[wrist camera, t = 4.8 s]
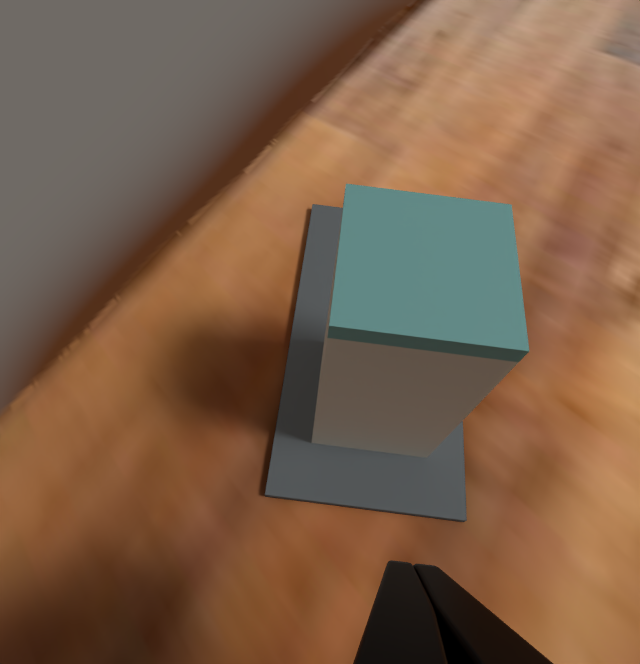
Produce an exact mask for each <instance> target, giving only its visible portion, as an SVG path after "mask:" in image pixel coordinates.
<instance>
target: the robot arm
mask: <svg viewBox="0 0 640 664" xmlns="http://www.w3.org/2000/svg"><path fill="white" fill-rule="evenodd" d="M353 664H553V663H552V662H551V661H550V660H548V659H547V658H546V657H545V656H544V655H542V654H541V653H540V652H539V651H538V650H536V649H535V648H534V647H533V646H532V645H530V644H529V643H528V642H527V641H526V640H524V639H523V638H522V637H521V636H520V635H518V634H517V633H516V632H515V631H514V630H513V629H511V628H510V627H509V626H508V625H507V624H505V623H504V622H503V621H502V620H501V619H499V618H498V617H497V616H496V615H495V614H493V613H492V612H491V611H490V610H489V609H487V608H486V607H485V606H484V605H483V604H481V603H480V602H479V601H478V600H477V599H475V598H474V597H473V596H472V595H471V594H469V593H468V592H467V591H466V590H465V589H463V588H462V587H461V586H460V585H459V584H457V583H456V582H455V581H454V580H453V579H451V578H450V577H449V576H448V575H447V574H446V573H444V572H443V571H442V570H441V569H440V568H438V567H436V566H432V565H424V564H415V565H412V564H411V563H408V562H400V561H389V562H388V563H387V566H386V569H385V572H384V575H383V578H382V581H381V584H380V586H379V589H378V592H377V595H376V598H375V601H374V604H373V607H372V610H371V613H370V616H369V619H368V622H367V625H366V628H365V630H364V633H363V636H362V639H361V642H360V645H359V648H358V651H357V654H356V657H355V660H354V663H353Z"/></svg>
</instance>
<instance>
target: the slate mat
mask: <svg viewBox="0 0 640 664" xmlns="http://www.w3.org/2000/svg"><path fill="white" fill-rule="evenodd" d="M342 210H343V208H339V207H331V206H323V205H315V204H313V205H312V211H311V218H310V224H309V230H308V236H307V242H306V248H305V254H304V260H303V266H302V272H301V278H300V284H299V290H298V297H297V303H296V309H295V315H294V321H293V327H292V333H291V339H290V345H289V351H288V357H287V363H286V369H285V376H284V382H283V388H282V394H281V400H280V406H279V412H278V418H277V424H276V430H275V436H274V442H273V448H272V455H271V461H270V467H269V473H268V479H267V485H266V491H265V496H266V497H274V498H282V499H289V500H297V501H305V502H313V503H320V504H328V505H336V506H344V507H351V508H359V509H367V510H375V511H382V512H390V513H398V514H406V515H413V516H421V517H429V518H437V519H444V520H452V521H460V522H465V521H467V519H466V494H465V468H464V443H463V421H462V422H461V423H460V424H459V425H458V426H457V427H456V428H455V429H454V430H453V431H452V432H451V433H450V434H449V435H448V436H447V437H446V438H445V439H444V440H443V441H442V442H441V443H440V445H439V446H438V447H437V448H436V449H435V450H434V451H433V452H432V453H431V454H430V455H429V456H428V457H427V458H424V457H416V456H408V455H401V454H393V453H385V452H377V451H370V450H362V449H354V448H346V447H338V446H331V445H323V444H315V443H312V435H313V427H314V419H315V411H316V402H317V394H318V386H319V378H320V370H321V362H322V354H323V346H324V338H325V331H326V324H327V317H328V310H329V303H330V296H331V288H332V281H333V274H334V267H335V260H336V253H337V246H338V238H339V231H340V224H341V217H342Z"/></svg>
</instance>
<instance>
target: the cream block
mask: <svg viewBox="0 0 640 664" xmlns="http://www.w3.org/2000/svg"><path fill="white" fill-rule="evenodd" d="M528 352H529V345H528V337H527V328H526V320H525V312H524V304H523V296H522V287H521V279H520V271H519V263H518V255H517V246H516V238H515V230H514V222H513V214H512V205H510V204H503V203H495V202H487V201H479V200H471V199H463V198H455V197H447V196H439V195H431V194H423V193H415V192H408V191H400V190H392V189H384V188H376V187H368V186H360V185H352V184H346V189H345V196H344V203H343V210H342V217H341V224H340V231H339V238H338V246H337V253H336V260H335V267H334V274H333V281H332V288H331V296H330V303H329V310H328V317H327V324H326V331H325V338H324V346H323V354H322V362H321V370H320V378H319V386H318V394H317V402H316V411H315V419H314V427H313V435H312V443H315V444H323V445H331V446H338V447H346V448H354V449H362V450H370V451H377V452H385V453H393V454H401V455H408V456H416V457H424V458H427V457H428V456H429V455H430V454H431V453H432V452H433V451H434V450H435V449H436V448H437V447H438V446H439V445H440V443H441V442H442V441H443V440H444V439H445V438H446V437H447V436H448V435H449V434H450V433H451V432H452V431H453V430H454V429H455V428H456V427H457V426H458V425H459V424H460V423H461V422H462V421H463V420H464V419H465V418H466V416H467V415H468V414H469V413H470V412H471V411H472V410H473V409H474V408H475V407H476V406H477V405H478V404H479V403H480V402H481V401H482V400H483V399H484V398H485V397H486V396H487V395H488V394H489V393H490V392H491V390H492V389H493V388H494V387H495V386H496V385H497V384H498V383H499V382H500V381H501V380H502V379H503V378H504V377H505V376H506V375H507V374H508V373H509V372H510V371H511V370H512V369H513V368H514V367H515V366H516V364H517V363H518V362H519V361H520V360H521V359H522V358H523V357H524V356H525V355H526V354H527V353H528Z"/></svg>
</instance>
